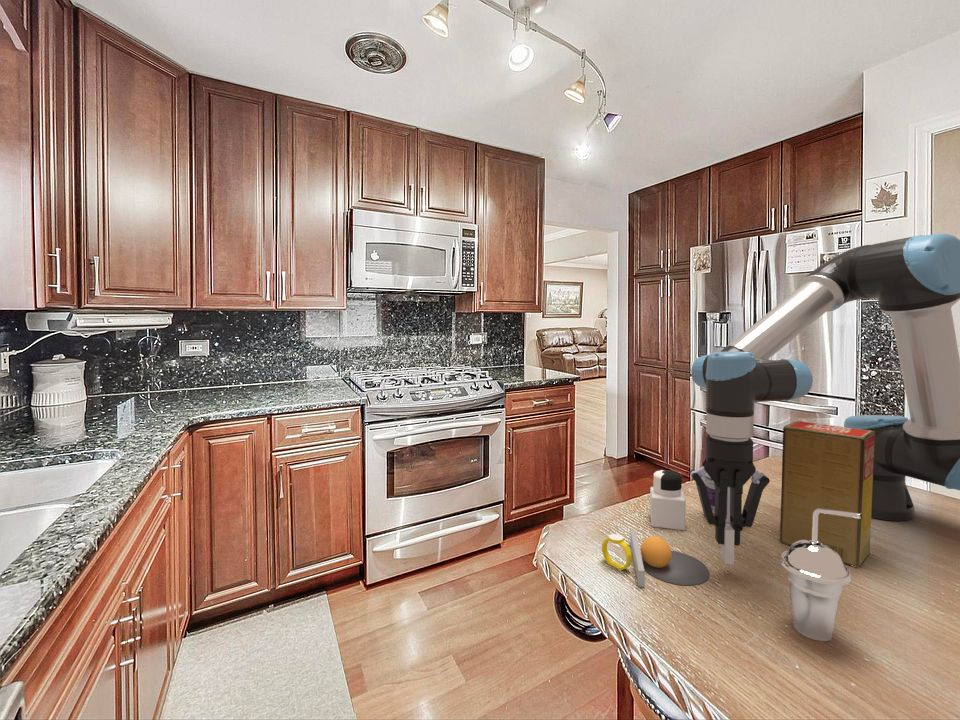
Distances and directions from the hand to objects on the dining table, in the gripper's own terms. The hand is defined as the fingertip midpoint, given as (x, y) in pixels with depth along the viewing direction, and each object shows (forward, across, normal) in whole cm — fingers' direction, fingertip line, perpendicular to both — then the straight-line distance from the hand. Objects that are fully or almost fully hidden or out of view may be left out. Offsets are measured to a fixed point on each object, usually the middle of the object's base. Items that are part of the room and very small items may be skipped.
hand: (727, 560), depth 81 cm
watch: (+3, +20, +2) cm, 20 cm away
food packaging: (+3, -22, -14) cm, 26 cm away
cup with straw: (+3, -8, +15) cm, 17 cm away
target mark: (+2, +9, 0) cm, 9 cm away
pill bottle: (+3, -6, -25) cm, 26 cm away
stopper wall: (+2, +16, 0) cm, 16 cm away
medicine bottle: (+3, +7, -20) cm, 21 cm away
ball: (0, +12, 0) cm, 13 cm away
